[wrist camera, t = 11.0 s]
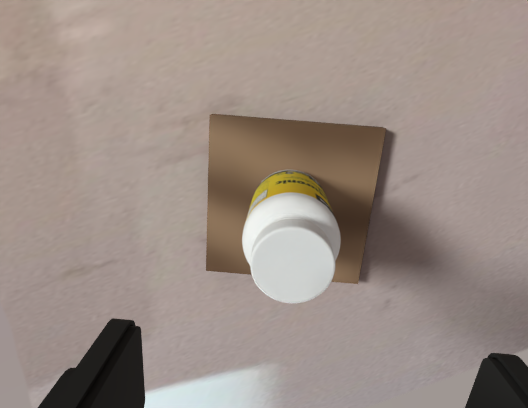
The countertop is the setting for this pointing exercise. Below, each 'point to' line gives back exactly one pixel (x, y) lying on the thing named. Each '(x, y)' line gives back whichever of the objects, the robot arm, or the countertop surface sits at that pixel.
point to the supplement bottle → (291, 237)
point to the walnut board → (289, 158)
